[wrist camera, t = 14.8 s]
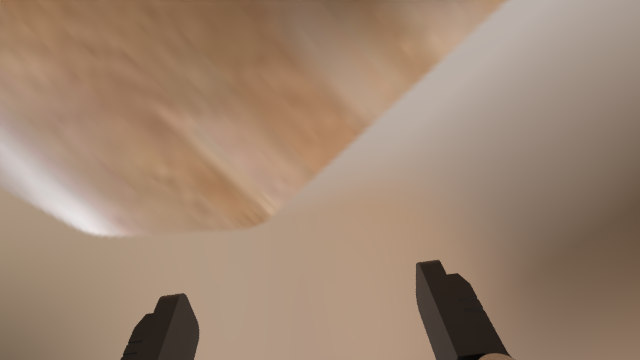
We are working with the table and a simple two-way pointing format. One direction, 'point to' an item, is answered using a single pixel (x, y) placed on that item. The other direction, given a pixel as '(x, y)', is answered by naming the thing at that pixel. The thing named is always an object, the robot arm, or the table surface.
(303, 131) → the table surface
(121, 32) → the table surface
